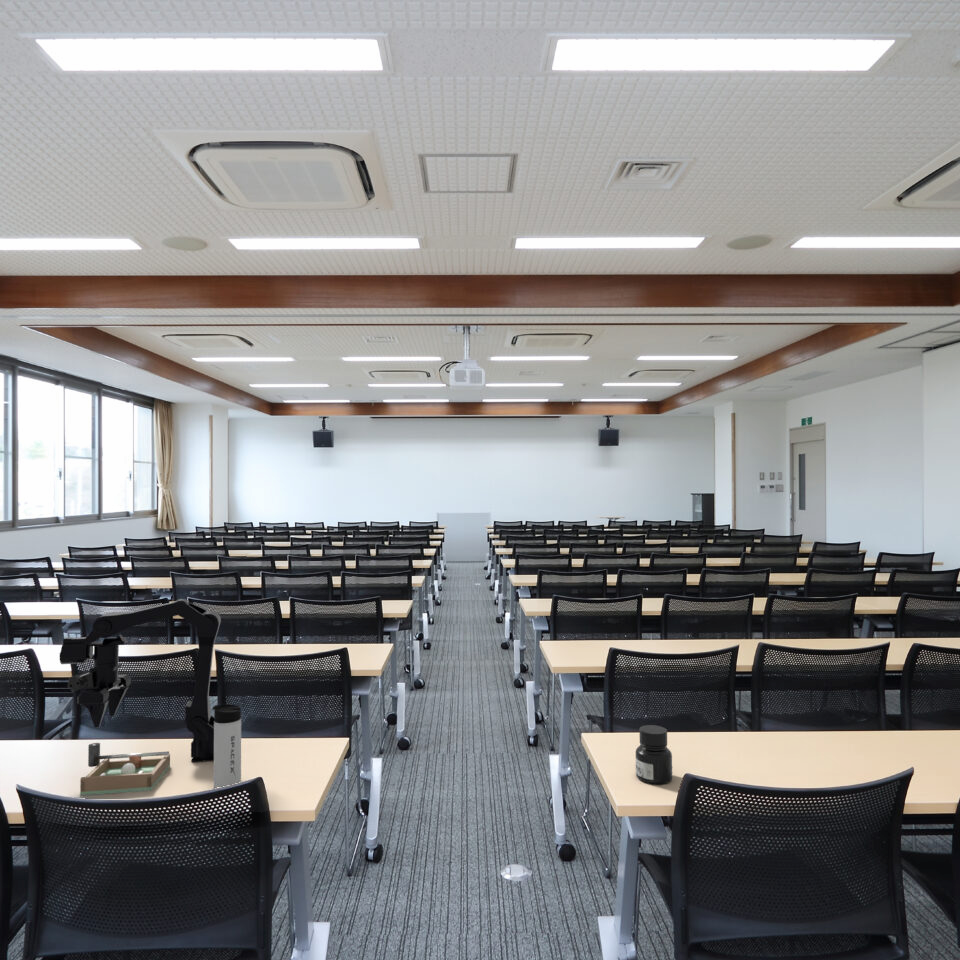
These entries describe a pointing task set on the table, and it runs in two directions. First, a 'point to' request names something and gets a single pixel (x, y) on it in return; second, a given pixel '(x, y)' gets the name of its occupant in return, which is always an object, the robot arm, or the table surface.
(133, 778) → the pitch
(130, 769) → the ball
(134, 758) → the rubber mallet
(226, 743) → the travel mug
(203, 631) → the robot arm
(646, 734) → the ink bottle
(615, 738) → the table surface
